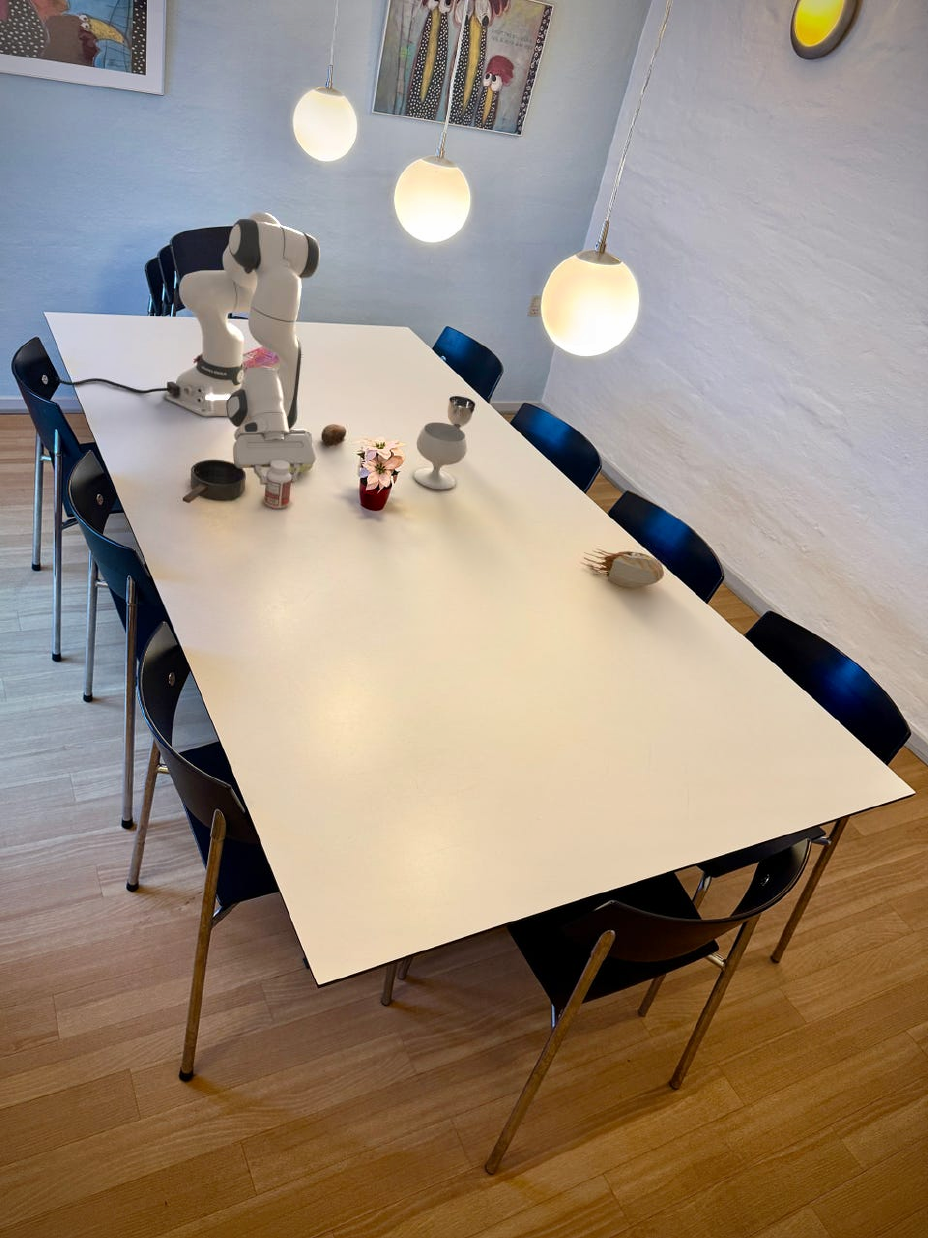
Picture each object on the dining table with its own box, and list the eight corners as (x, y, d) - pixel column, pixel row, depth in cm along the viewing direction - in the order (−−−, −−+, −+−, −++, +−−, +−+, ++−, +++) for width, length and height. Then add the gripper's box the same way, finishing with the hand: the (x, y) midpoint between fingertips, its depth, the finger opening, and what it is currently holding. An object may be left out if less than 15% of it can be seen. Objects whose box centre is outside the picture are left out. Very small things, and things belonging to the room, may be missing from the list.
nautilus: (573, 578, 226) (584, 554, 238) (655, 603, 222) (662, 577, 235) (580, 551, 222) (591, 528, 234) (664, 576, 218) (670, 551, 231)
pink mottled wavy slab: (261, 387, 276) (262, 372, 273) (220, 371, 279) (221, 356, 276) (310, 363, 300) (312, 349, 297) (272, 349, 303) (273, 334, 300)
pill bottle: (285, 496, 227) (289, 457, 221) (291, 508, 223) (296, 469, 216) (261, 496, 224) (264, 457, 218) (267, 509, 220) (271, 470, 214)
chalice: (403, 467, 254) (412, 419, 245) (448, 467, 260) (458, 421, 251) (419, 492, 244) (429, 443, 235) (465, 492, 250) (477, 444, 241)
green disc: (277, 479, 233) (277, 472, 232) (264, 458, 241) (265, 452, 239) (317, 477, 238) (318, 471, 237) (304, 457, 246) (305, 451, 245)
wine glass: (469, 448, 273) (479, 403, 265) (457, 456, 267) (468, 410, 259) (446, 438, 275) (456, 393, 267) (435, 446, 269) (444, 400, 261)
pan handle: (182, 501, 209) (182, 497, 209) (202, 486, 216) (202, 482, 216) (189, 503, 209) (189, 500, 208) (208, 488, 216) (208, 485, 216)
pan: (180, 490, 219) (180, 474, 216) (207, 470, 229) (208, 454, 227) (228, 507, 217) (229, 491, 215) (253, 486, 228) (255, 470, 225)
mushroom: (355, 432, 258) (345, 416, 253) (348, 452, 253) (337, 436, 249) (331, 436, 261) (321, 420, 256) (324, 456, 257) (313, 440, 252)
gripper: (306, 433, 228) (315, 485, 227) (227, 434, 218) (235, 488, 218) (314, 425, 223) (322, 478, 222) (233, 425, 213) (242, 481, 212)
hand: (279, 483), depth 220 cm, fingers closed on pill bottle, 6 cm apart
